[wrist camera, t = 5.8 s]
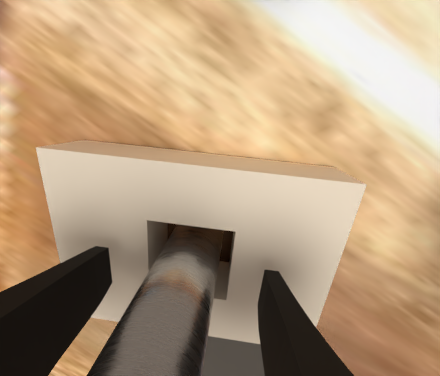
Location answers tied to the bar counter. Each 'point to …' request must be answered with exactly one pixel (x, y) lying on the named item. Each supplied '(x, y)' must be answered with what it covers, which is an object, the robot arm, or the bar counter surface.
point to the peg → (168, 311)
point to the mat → (232, 358)
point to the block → (201, 220)
